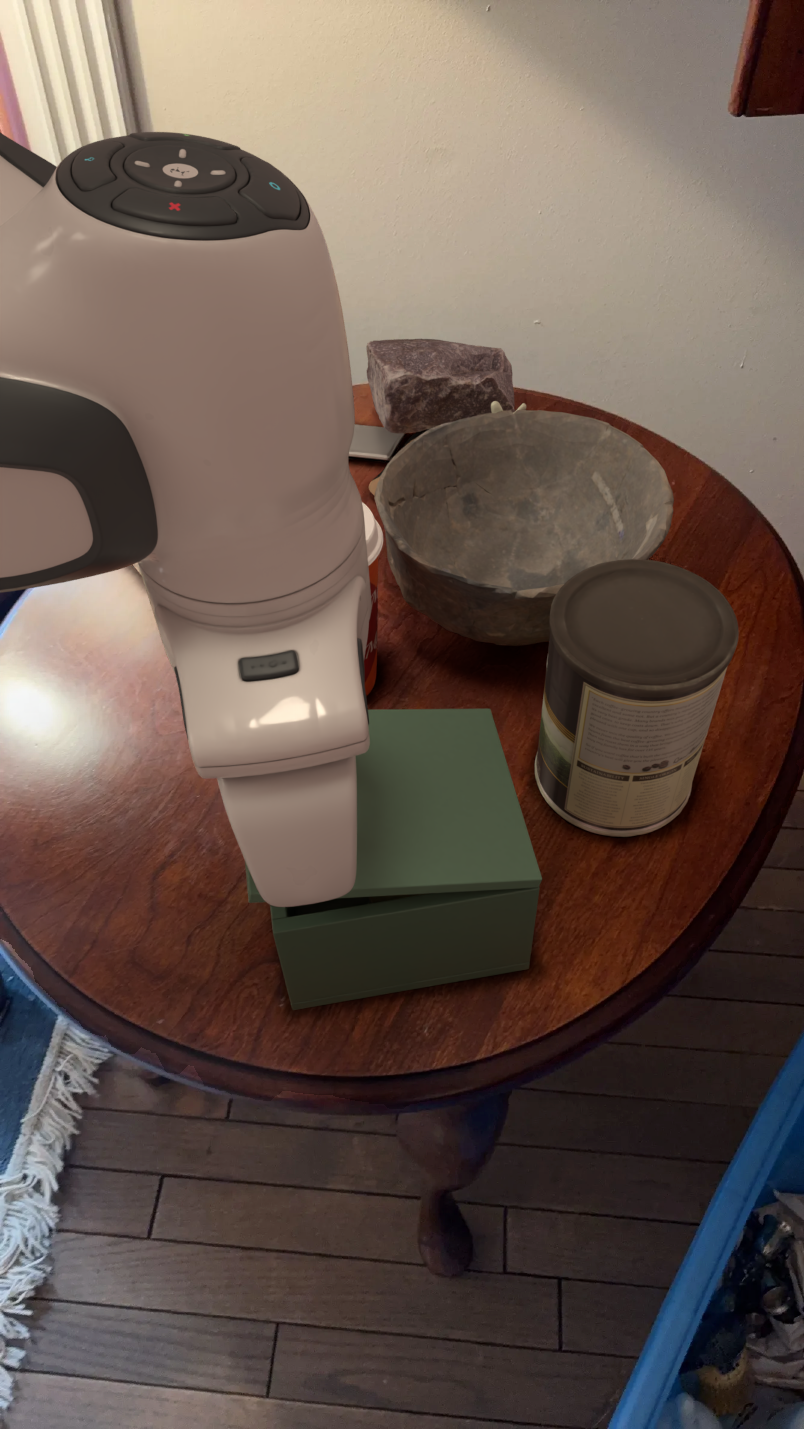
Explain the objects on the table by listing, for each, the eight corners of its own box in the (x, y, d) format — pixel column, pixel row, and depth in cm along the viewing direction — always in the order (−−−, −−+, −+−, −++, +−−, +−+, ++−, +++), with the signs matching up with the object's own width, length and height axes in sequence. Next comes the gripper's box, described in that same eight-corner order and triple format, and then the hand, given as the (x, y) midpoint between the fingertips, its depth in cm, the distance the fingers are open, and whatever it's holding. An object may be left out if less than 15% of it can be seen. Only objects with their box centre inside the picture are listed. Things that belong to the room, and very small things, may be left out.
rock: (527, 377, 97) (535, 256, 83) (505, 510, 92) (511, 405, 78) (381, 363, 99) (366, 241, 85) (353, 493, 94) (332, 386, 80)
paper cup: (412, 687, 73) (406, 532, 63) (319, 736, 71) (297, 583, 60) (352, 625, 78) (338, 470, 67) (263, 668, 75) (234, 514, 64)
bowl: (539, 480, 88) (548, 374, 81) (711, 617, 77) (741, 510, 69) (330, 573, 81) (318, 468, 74) (486, 741, 70) (491, 636, 62)
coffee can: (501, 775, 68) (511, 621, 57) (599, 691, 73) (626, 534, 62) (627, 868, 63) (664, 719, 52) (724, 772, 68) (776, 616, 57)
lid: (248, 903, 49) (256, 845, 45) (232, 720, 56) (237, 657, 53) (538, 888, 52) (566, 832, 49) (487, 717, 60) (508, 658, 56)
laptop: (388, 446, 88) (390, 467, 90) (407, 415, 92) (408, 436, 94) (309, 438, 90) (312, 458, 92) (331, 408, 94) (333, 428, 95)
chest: (292, 1011, 58) (272, 933, 51) (273, 840, 65) (254, 753, 59) (529, 969, 59) (540, 888, 52) (484, 806, 67) (488, 717, 60)
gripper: (174, 444, 48) (225, 651, 59) (191, 792, 35) (253, 979, 45) (308, 426, 49) (335, 635, 59) (375, 762, 35) (395, 954, 46)
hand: (300, 787), depth 52 cm, fingers closed on lid, 5 cm apart
